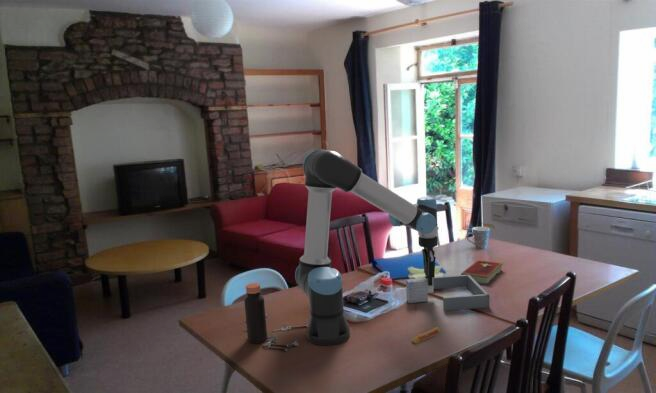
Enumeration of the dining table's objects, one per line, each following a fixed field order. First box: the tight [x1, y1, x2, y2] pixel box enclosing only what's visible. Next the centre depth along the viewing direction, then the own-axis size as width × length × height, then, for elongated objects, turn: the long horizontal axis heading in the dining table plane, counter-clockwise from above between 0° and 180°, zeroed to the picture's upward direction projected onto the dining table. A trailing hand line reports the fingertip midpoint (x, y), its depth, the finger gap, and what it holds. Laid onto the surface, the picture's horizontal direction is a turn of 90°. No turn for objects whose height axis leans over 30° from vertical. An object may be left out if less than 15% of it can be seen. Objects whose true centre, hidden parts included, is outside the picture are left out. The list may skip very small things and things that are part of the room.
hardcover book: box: [460, 259, 503, 285], centre depth 226 cm, size 12×21×4 cm, turn 144°
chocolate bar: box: [411, 326, 441, 344], centre depth 169 cm, size 3×12×2 cm, turn 126°
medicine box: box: [405, 277, 429, 304], centre depth 200 cm, size 8×4×9 cm, turn 94°
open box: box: [433, 274, 490, 311], centre depth 202 cm, size 24×18×5 cm
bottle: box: [244, 282, 268, 344], centre depth 173 cm, size 7×7×20 cm
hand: (429, 292), depth 201 cm, fingers closed
